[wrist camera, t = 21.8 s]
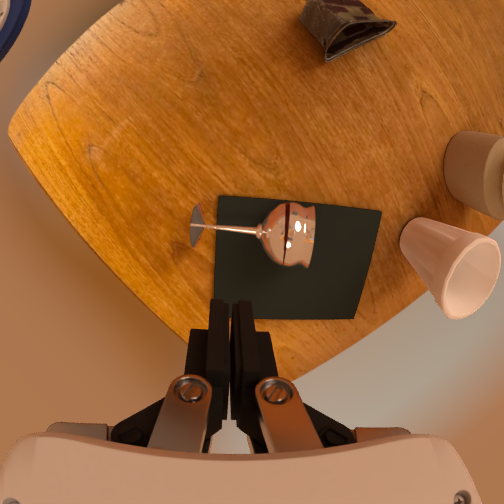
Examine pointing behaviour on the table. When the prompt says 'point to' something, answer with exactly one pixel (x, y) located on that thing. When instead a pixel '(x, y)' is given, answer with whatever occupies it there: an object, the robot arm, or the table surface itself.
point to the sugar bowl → (476, 171)
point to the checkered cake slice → (342, 25)
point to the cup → (452, 264)
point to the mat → (296, 278)
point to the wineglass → (273, 233)
